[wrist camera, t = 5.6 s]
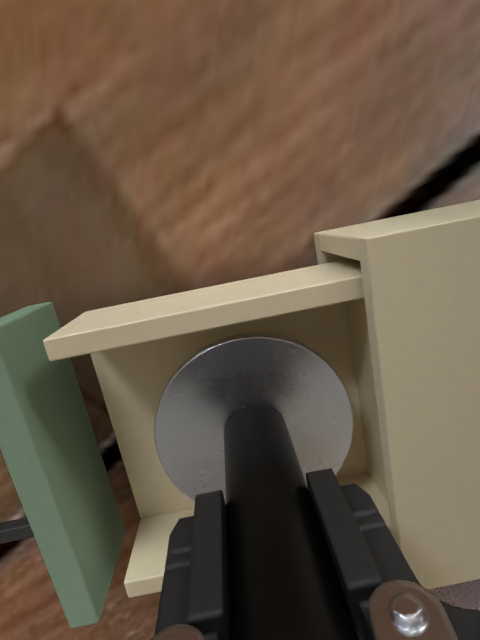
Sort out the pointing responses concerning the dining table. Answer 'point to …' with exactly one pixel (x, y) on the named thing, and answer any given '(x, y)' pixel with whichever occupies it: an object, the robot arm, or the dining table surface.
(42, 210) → the dining table surface
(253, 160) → the dining table surface
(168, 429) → the paper towel holder
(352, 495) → the robot arm
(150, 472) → the drawer
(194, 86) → the dining table surface
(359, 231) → the cabinet
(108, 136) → the dining table surface
